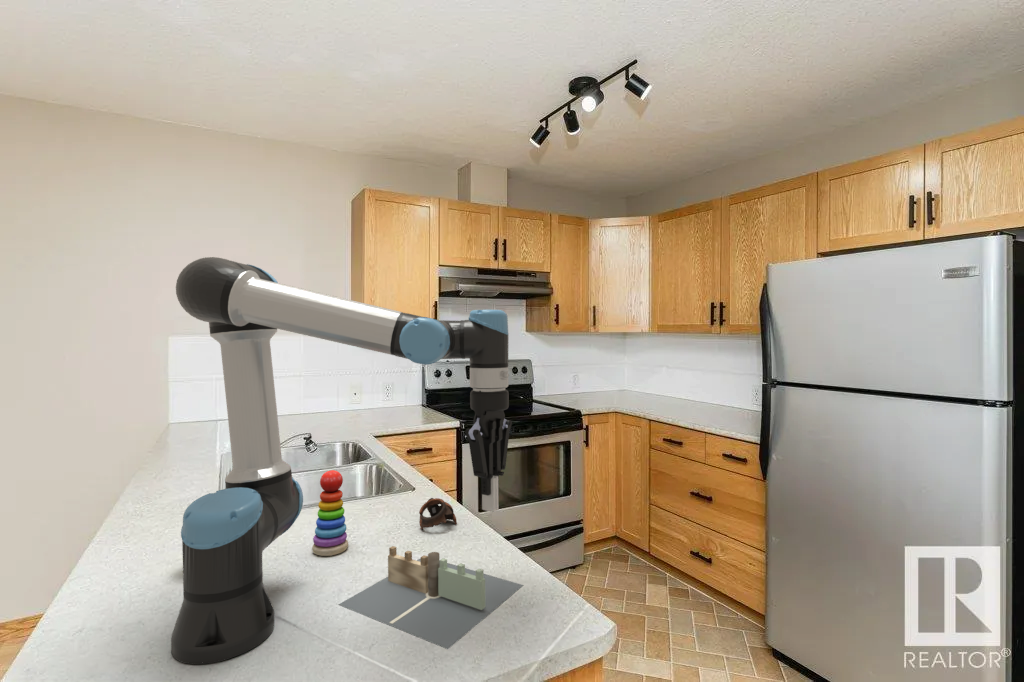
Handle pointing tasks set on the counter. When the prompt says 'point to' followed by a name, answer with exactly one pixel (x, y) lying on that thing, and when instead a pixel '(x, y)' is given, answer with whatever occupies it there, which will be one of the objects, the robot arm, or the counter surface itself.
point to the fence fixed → (414, 571)
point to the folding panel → (461, 585)
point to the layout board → (428, 608)
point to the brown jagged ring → (436, 513)
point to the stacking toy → (330, 517)
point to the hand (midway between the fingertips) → (490, 509)
